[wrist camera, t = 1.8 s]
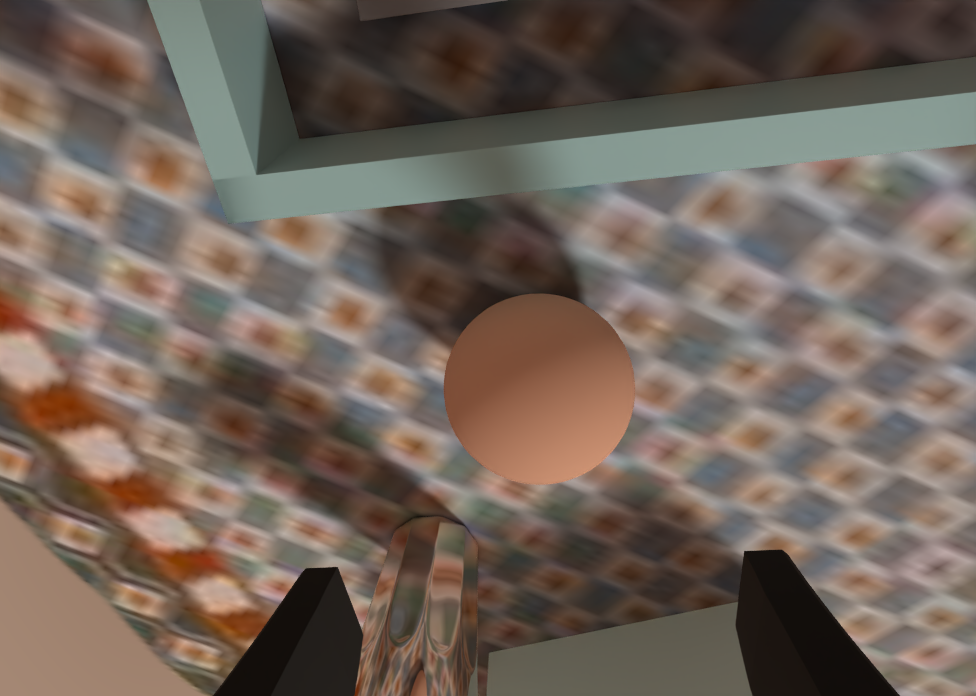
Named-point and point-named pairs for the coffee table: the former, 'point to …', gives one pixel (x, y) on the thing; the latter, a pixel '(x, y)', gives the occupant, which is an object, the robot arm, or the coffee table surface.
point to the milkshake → (423, 615)
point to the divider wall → (528, 128)
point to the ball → (539, 388)
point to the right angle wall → (630, 660)
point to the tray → (408, 7)
